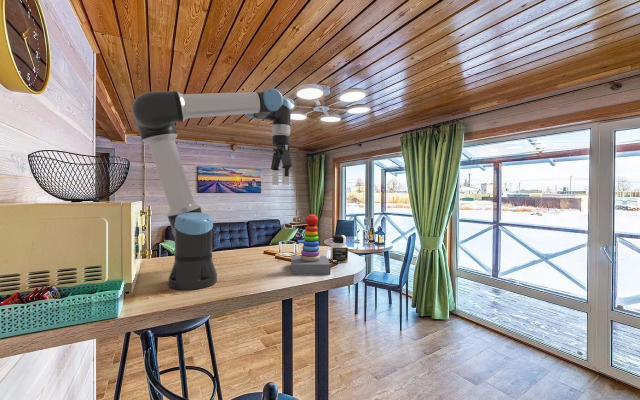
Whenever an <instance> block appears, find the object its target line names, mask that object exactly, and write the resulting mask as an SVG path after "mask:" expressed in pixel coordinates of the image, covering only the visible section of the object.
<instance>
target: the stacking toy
mask: <svg viewBox="0 0 640 400" xmlns="http://www.w3.org/2000/svg"><path fill="white" fill-rule="evenodd" d="M305 223H306V226H305V231H304V236H303V239H304V240H303V241H302V244H303V245H302V247H301V248H302V249H301V252H300V253H301V255H300V256H301V259H302V260H304V261H318V260H319V259H320V256H321V255H320V246H319V245H320V242H319V241H318V240H319V236H318V234H319V233H318V226H317V225H318V223H319V218H318V216H317V215H316V214H314V213H313V214H310V213H309V214H308V215H307V216H306V218H305Z"/></svg>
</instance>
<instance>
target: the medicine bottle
mask: <svg viewBox="0 0 640 400" xmlns="http://www.w3.org/2000/svg"><path fill="white" fill-rule="evenodd" d="M346 243H347V237H346V236H345V235H344V234H335V235H333V236H332V243H331V244H330V260H331V259H332V260H337V261H338V262H337V263H348V259H349V256H348V255H349V247H348V246H347V244H346ZM332 260H331V261H332Z"/></svg>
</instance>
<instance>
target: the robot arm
mask: <svg viewBox="0 0 640 400" xmlns="http://www.w3.org/2000/svg"><path fill="white" fill-rule="evenodd" d="M291 106H292V104H291V101H290V100H289V99H287V98H284V96H283V95H282V93H281V92H280V91H279V90H278V89H276V88H268V89H266V90H265V91H251V92H250V91H248V92H217V93H213V92H212V93H211V92H210V93H181V92H179V91H178V90H171V91H170V90H167V91H166V90H164V91H163V90H162V91H159V90H158V91H148V92H144V93H141V94H139V95H138V96H137V97H136V98H135V99H134V101H133V103H132V108H131V110H132V114H133V118H134V122H135V124H136V127H137V129H138V132H139V135H140V137H141V138H140V139H141V141H142V142H143V143H144V144H146V145H148V147H149V149H150V153H151V156H152V159H153V161H154V166H155V168H156V172H157V173H158V178H159V180H160V183H161V187H162V189H163V191H164V196H165V199H166V201H167V204H168V208H169V212H168V213H167V214H166V216H167V219H168V222H169V224H170V228H171V232H172V235H173V237H174V263H173V265H172V268H171V272H170V273H169V275H168V287H169V288H171V289H174V290H181V291H188V290H189V291H190V290H200V289H203V288H207V287H211V286H213V285H215V284H216V283H217V281H218V273H217V270H216V267H215V264H214V261H213V227H214V222H213V217H212V215H210V214H208V213H204V212H202V208H201V206H200V205H199V204H197V203H195V200H194V197H193V194H192V191H191V187H190V185H189V182H188V178H187V175H186V172H185V169H184V166H183V162H182V158H181V156H180V153H179V149H178V146H177V143H176V139H177V137H178V132H177V128H176V125H175V123H183V122H185V120H187V119H192V118H193V119H195V118H209V117H210V118H211V117H221V116H225V117H226V116H236V115H245V116H246V117H247V118H251V119H256V120H263V121H271V122H272V145H273V146H275V147H276V148H273V151H272V152H273V153H272V158H271V166H270V170H272V172H271V173H272V174H271V175H272V176H271V177H272V178H271V179H272V180H271V184H272V185H273V186H274V185H275V186H278V185H279V175H280V164H281V163H282V167H281V169H282V177H281V178H282V181H281V182H282V183H281V185H284V186H285V185H288V186H289V185H290V169H291V167H293V166H292V159H291V153H290V152H291V151H290V145H291V138H290V135H291V131H292V129H291V116H292V114H291V113H292V107H291Z"/></svg>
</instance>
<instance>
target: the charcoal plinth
mask: <svg viewBox="0 0 640 400" xmlns="http://www.w3.org/2000/svg"><path fill="white" fill-rule="evenodd" d="M319 256H320V259H319V260H318V261H304V260H302V259H301V255H291V256H290V269H291V270H290V271H291V276H296V275H297V276H299V275H300V276H304V275H305V276H308V275H309V276H316V275H317V276H318V275H323V276H324V275H330V276H331V271H332V270H331V268H332V267H331V266H332V265H331V262H330V261H329V259H328V258H327V256H326V255H319Z"/></svg>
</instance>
